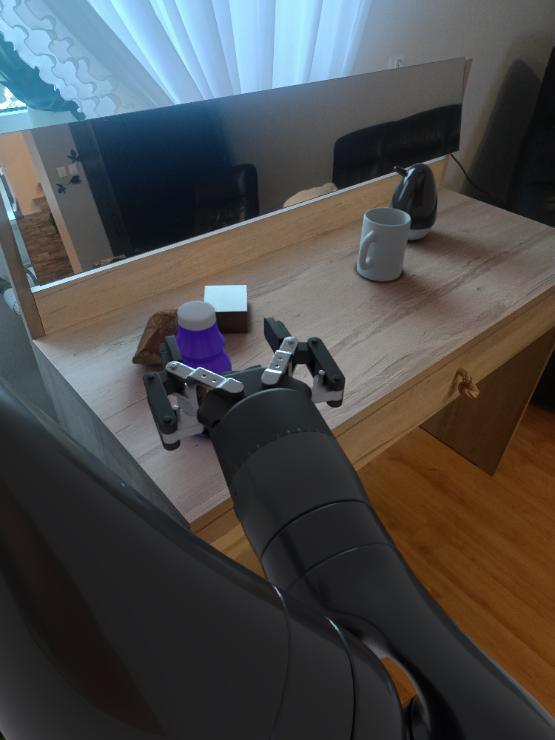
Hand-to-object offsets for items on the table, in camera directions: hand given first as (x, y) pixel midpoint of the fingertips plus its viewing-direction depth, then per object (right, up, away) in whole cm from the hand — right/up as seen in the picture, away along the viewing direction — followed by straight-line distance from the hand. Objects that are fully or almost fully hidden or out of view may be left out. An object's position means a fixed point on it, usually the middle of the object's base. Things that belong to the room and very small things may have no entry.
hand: (220, 334), depth 42 cm
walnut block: (-4, +6, +40) cm, 41 cm away
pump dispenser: (+33, +26, +66) cm, 79 cm away
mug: (+23, +15, +53) cm, 60 cm away
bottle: (-4, -10, +22) cm, 25 cm away
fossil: (-12, -1, +33) cm, 35 cm away
